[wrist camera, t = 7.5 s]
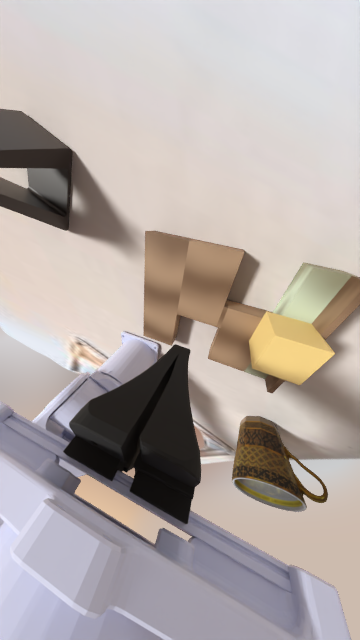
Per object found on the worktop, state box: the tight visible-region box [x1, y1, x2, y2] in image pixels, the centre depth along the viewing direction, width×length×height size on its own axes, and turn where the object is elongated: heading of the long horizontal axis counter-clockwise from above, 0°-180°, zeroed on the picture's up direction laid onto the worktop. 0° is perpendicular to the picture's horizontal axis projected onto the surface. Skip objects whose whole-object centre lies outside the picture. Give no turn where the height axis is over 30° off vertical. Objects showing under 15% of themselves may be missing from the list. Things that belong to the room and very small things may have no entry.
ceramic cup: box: [232, 416, 328, 512], centre depth 26 cm, size 13×10×10 cm
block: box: [249, 311, 335, 385], centre depth 15 cm, size 4×4×4 cm
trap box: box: [144, 231, 360, 393], centre depth 18 cm, size 15×20×4 cm
